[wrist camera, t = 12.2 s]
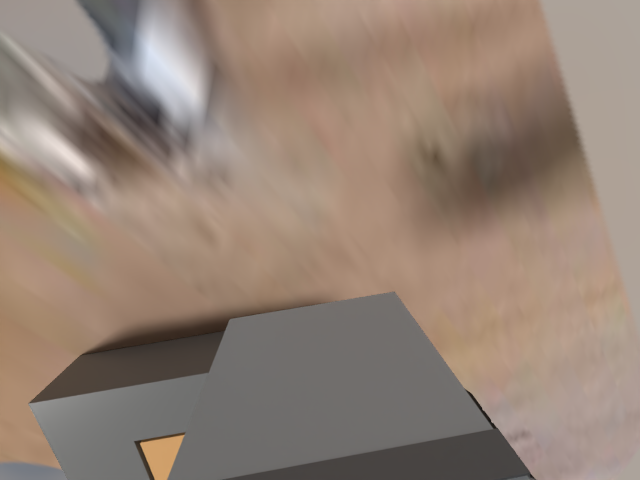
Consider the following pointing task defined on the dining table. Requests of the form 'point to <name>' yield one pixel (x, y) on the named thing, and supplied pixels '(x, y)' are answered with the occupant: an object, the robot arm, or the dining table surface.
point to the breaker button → (161, 453)
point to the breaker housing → (122, 405)
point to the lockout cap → (338, 403)
